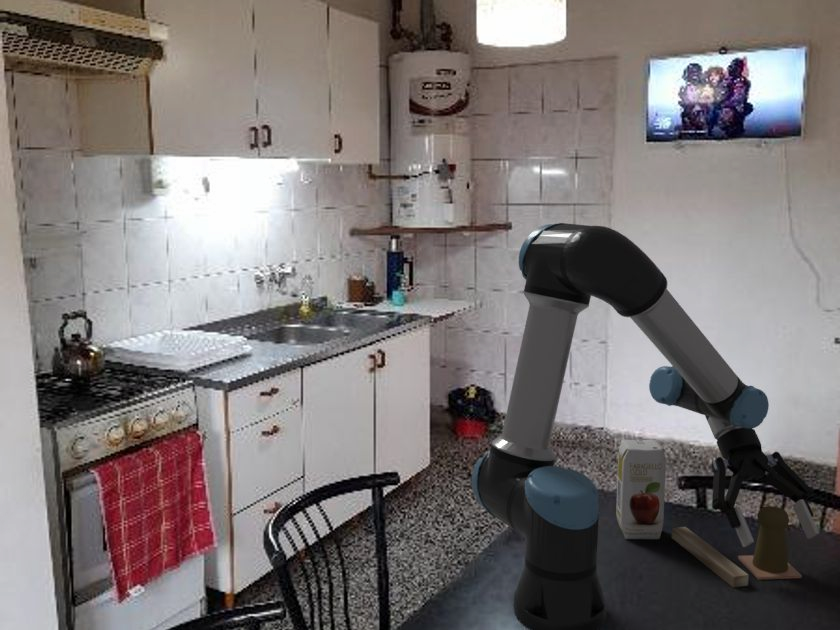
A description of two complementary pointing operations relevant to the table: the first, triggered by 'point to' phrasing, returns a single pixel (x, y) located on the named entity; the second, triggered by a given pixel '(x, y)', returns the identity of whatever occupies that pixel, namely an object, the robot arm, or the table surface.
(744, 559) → the end plate
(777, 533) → the olive domed peg
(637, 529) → the juice carton
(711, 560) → the straightedge
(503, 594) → the table surface
